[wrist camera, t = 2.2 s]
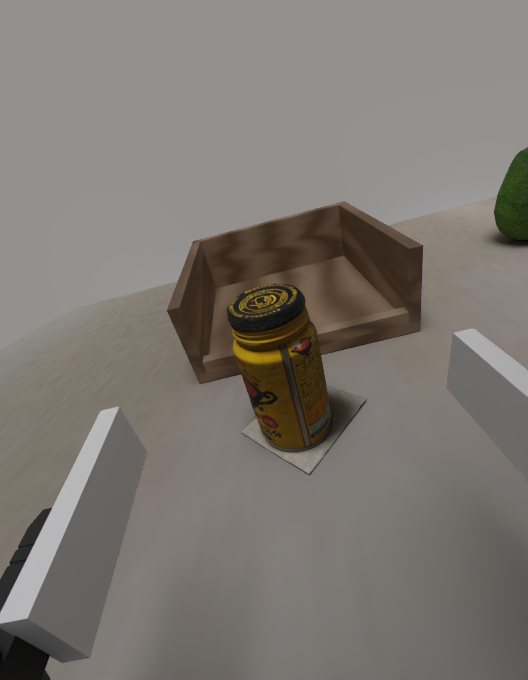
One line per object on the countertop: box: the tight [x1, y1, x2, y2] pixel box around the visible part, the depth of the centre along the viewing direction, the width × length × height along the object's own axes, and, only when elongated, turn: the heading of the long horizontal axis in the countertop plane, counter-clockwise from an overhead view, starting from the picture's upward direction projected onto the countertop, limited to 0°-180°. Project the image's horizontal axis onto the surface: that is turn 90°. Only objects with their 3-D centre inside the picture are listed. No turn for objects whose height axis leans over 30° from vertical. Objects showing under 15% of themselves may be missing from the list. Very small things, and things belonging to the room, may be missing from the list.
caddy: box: [167, 202, 423, 384], centre depth 42 cm, size 24×24×9 cm
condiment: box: [227, 284, 367, 474], centre depth 25 cm, size 7×8×12 cm
